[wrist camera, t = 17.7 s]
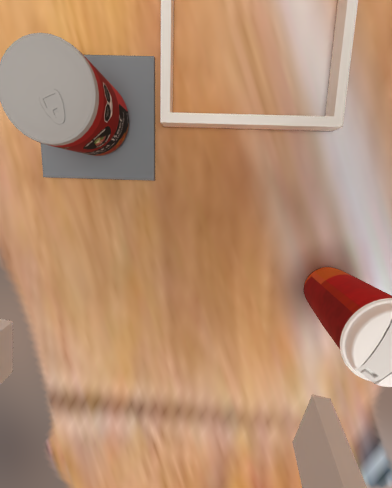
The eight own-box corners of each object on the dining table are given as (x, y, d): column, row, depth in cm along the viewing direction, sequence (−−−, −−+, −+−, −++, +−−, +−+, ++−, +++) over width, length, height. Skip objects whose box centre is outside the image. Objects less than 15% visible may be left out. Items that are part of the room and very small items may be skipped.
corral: (356, -72, 29) (369, -95, 27) (332, 130, 33) (342, 126, 31) (164, -74, 30) (161, -97, 27) (163, 126, 34) (160, 122, 31)
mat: (154, 58, 32) (154, 56, 32) (154, 180, 35) (154, 180, 35) (36, 55, 33) (34, 53, 32) (45, 177, 35) (43, 177, 35)
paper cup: (326, 328, 38) (394, 409, 25) (282, 291, 37) (326, 355, 24) (371, 283, 37) (469, 343, 23) (326, 244, 36) (400, 283, 22)
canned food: (94, 170, 34) (44, 164, 24) (48, 111, 33) (-27, 78, 23) (145, 127, 33) (117, 101, 23) (99, 65, 32) (46, 7, 21)
